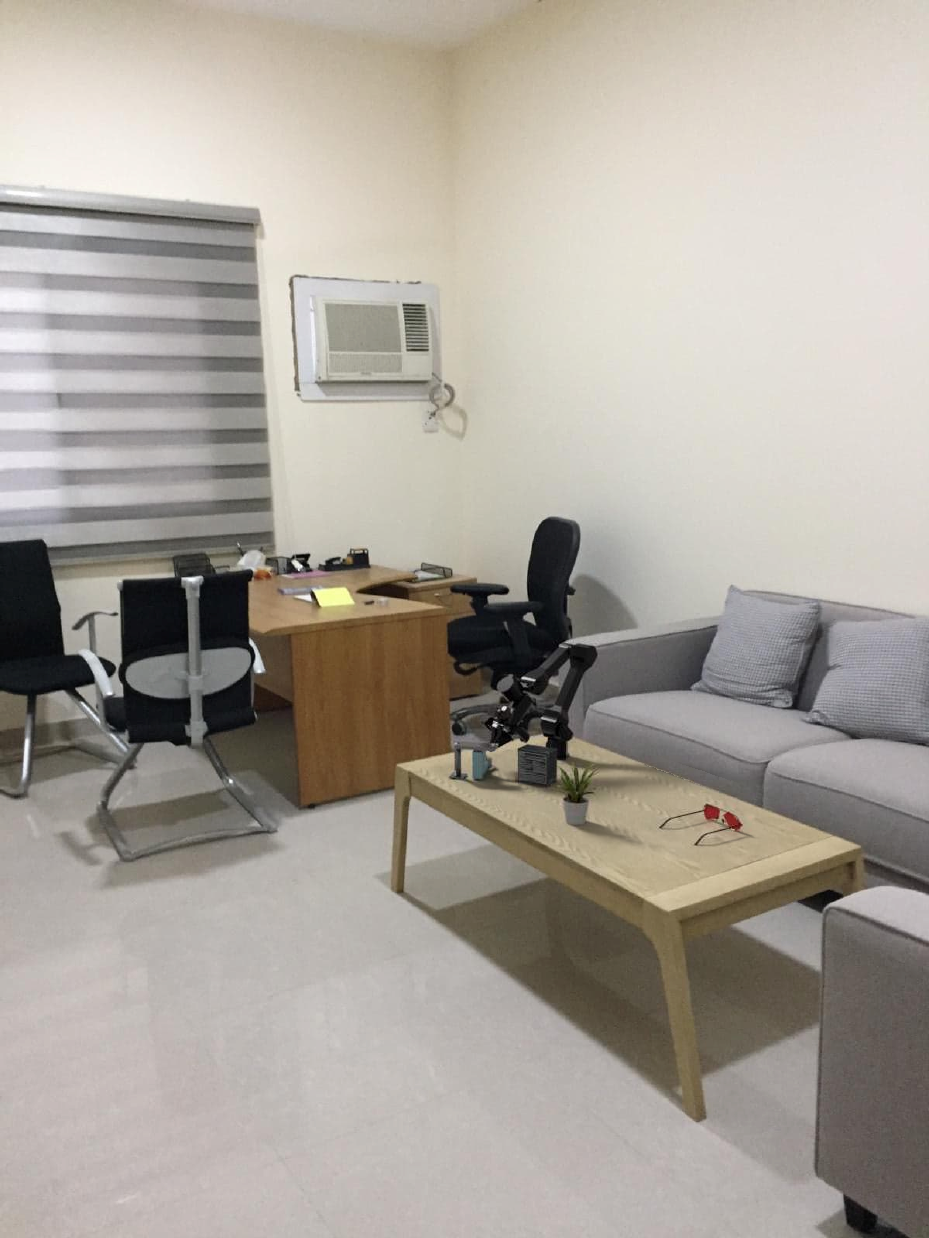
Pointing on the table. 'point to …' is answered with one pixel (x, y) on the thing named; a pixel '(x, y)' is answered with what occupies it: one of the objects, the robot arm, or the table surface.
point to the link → (480, 763)
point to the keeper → (468, 746)
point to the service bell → (490, 767)
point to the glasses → (713, 813)
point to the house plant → (576, 795)
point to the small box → (537, 765)
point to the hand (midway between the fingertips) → (489, 751)
